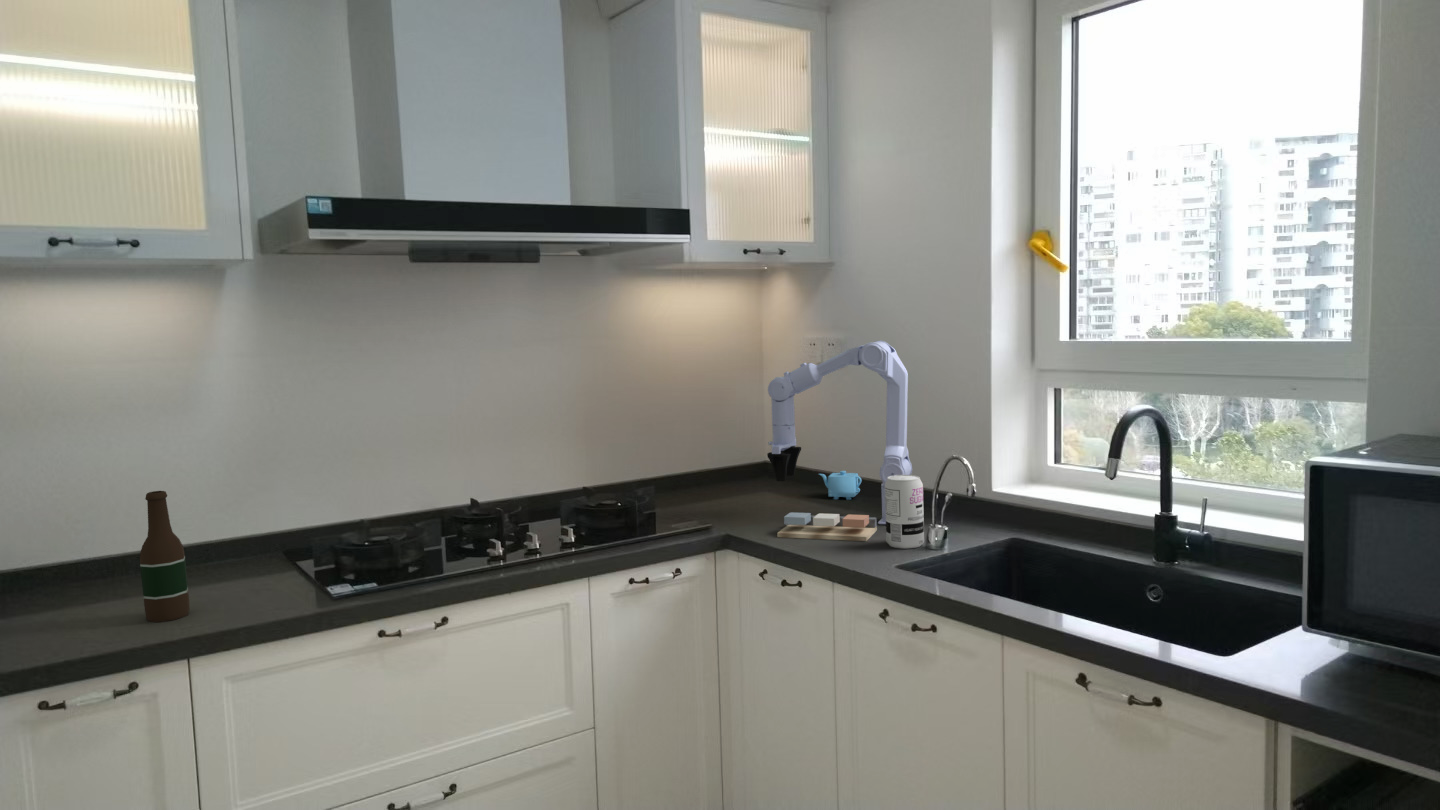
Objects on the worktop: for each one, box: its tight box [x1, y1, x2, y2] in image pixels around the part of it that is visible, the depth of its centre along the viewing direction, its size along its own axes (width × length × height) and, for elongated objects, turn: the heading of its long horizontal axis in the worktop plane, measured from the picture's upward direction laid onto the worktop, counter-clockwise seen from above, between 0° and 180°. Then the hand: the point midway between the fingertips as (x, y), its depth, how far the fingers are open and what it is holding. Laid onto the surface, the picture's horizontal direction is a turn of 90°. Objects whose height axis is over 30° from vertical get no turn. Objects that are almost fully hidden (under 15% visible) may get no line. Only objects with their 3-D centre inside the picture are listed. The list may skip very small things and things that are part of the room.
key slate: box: [783, 512, 812, 526], centre depth 235 cm, size 5×5×2 cm
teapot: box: [818, 470, 863, 501], centre depth 275 cm, size 12×6×8 cm, turn 72°
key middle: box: [813, 512, 840, 526], centre depth 232 cm, size 5×5×2 cm
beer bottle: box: [139, 490, 190, 623], centre depth 189 cm, size 8×8×24 cm
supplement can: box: [885, 474, 925, 550], centre depth 219 cm, size 8×8×15 cm
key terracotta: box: [843, 513, 870, 528], centre depth 230 cm, size 5×5×2 cm
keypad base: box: [776, 514, 878, 542], centre depth 233 cm, size 21×11×3 cm, turn 69°
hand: (785, 478), depth 251 cm, fingers open, 7 cm apart
